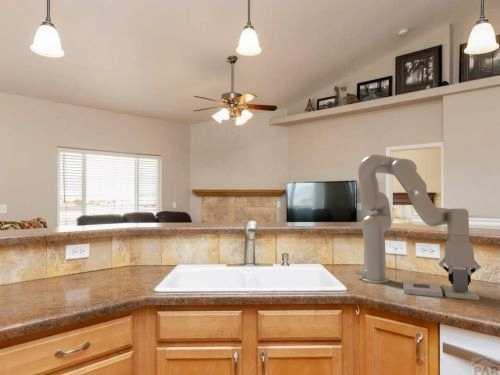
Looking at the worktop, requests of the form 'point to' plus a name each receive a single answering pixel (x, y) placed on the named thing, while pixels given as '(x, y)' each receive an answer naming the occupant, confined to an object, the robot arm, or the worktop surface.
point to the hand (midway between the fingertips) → (459, 283)
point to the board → (460, 293)
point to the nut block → (460, 279)
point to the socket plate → (422, 288)
